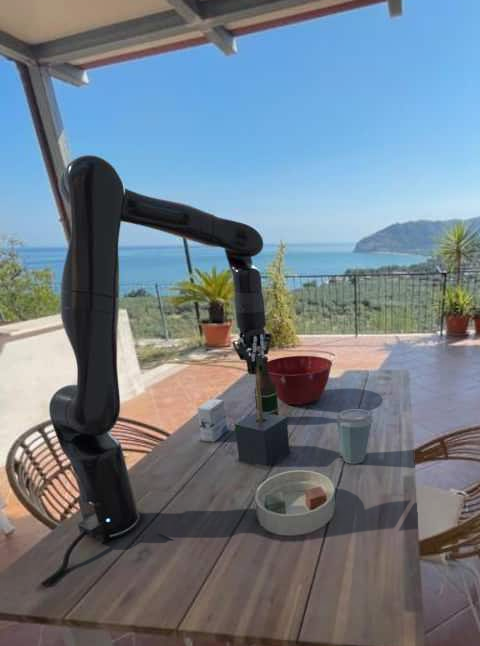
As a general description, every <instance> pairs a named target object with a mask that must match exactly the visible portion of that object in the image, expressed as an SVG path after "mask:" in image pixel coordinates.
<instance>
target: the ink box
mask: <svg viewBox="0 0 480 646" xmlns="http://www.w3.org/2000/svg"><path fill="white" fill-rule="evenodd" d="M225 407H226V406H225V400H224V399H215V398H210V399H209V400H208V401H205V403H203V404H201V405H200V406H198V407H197V415H198V422H199V431H200V437H201V441H204V442H213V443H215V442H216V441H217V440H219V439H220V438H221V437H222V436H223V435H225V434H226V433H227V432H228V424H227V417H226V409H225Z"/></svg>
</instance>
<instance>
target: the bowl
mask: <svg viewBox="0 0 480 646" xmlns="http://www.w3.org/2000/svg"><path fill="white" fill-rule="evenodd" d="M320 486H321V488H322V489H323V491H324V493H325V494H326V502H325V503H324V504H323V505H321V506H319V507H318V508H316V509H314V510H311V511H309V509H308V507H307V505H306V499H305V490H308V489H312V488H316V487H320ZM335 491H336V490H335V485H334V483H333V481H332V480H331V479H330V478H329V477H327V476H326V475H324V474H322V473H320V472H317V471H313V470H303V469H297V470H288V471H285V472H279V473H277V474H275V475H273V476H270V477H268V478H267V479H266V480H264V481H263V482H262V483H260V484H259V486H258V488H257V489H256V491H255V493H254V503H255V512H256V518H257V521H258V523H259V525H260V526H261V527H262V528H263V529H265V530H266V531H267V532H270V533H273V534H275V535H279V536H287V537H288V536H289V537H291V536H293V537H294V536H300V535H301V536H302V535H307V534H309V533H312V532H316V531H318V530H319V529H321V528H322V527H324V526H326V525H327V524H328V523H329V522H330V520H331V519H332V518H333V517H334V514H335V512H336V492H335ZM279 492H282V494H283V497H284V500H285V507H286V514H279V513H275V512H272V511H269V510H267V509H266V503H265V495H269V494H274V493H279Z"/></svg>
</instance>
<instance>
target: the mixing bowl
mask: <svg viewBox="0 0 480 646" xmlns="http://www.w3.org/2000/svg"><path fill="white" fill-rule="evenodd" d="M332 366H333V361H332V360H330V359H328V358H326V357H322V356H315V355H291V356H283V357H278V358H273V359H271V360H268V368H269V374H270V378H271V379H272V381H273V382H274V384H275V386H276V392H277V400H279V401H281V402H283V403H285V404H287V405H290V406H304V405H309V404H311V403H314V402H315V401H317V400H318V399H319V398H320V397H321V396H322V394H324V391H325V390H326V389H325V388H326V386H327V384H328V381H329V379H330V378H329V377H330V373H331V369H332Z"/></svg>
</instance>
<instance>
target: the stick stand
mask: <svg viewBox="0 0 480 646" xmlns="http://www.w3.org/2000/svg"><path fill="white" fill-rule="evenodd" d="M262 414H263V423H259V417H258V412H257V411H256V412H254V413H253V414H251V415H249V416H247V417H245V418H243V419H241V420H239V421H238V422H236V423H234V432H235V438H236V447H237V454H238V461H239V462H241V463H246V464H249V465H255V464H256V465H260V466H263V467H266V468H267V467H269V466H270V465H272V464H273V463H274V462H276V461H278V460H279V459H280V458H282V457H283V456H284V457H285V456H288V454H290V442H289V427H288V417H287V416H282V415H279V414H278V415H274V414H269V413H264V412H262Z"/></svg>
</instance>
